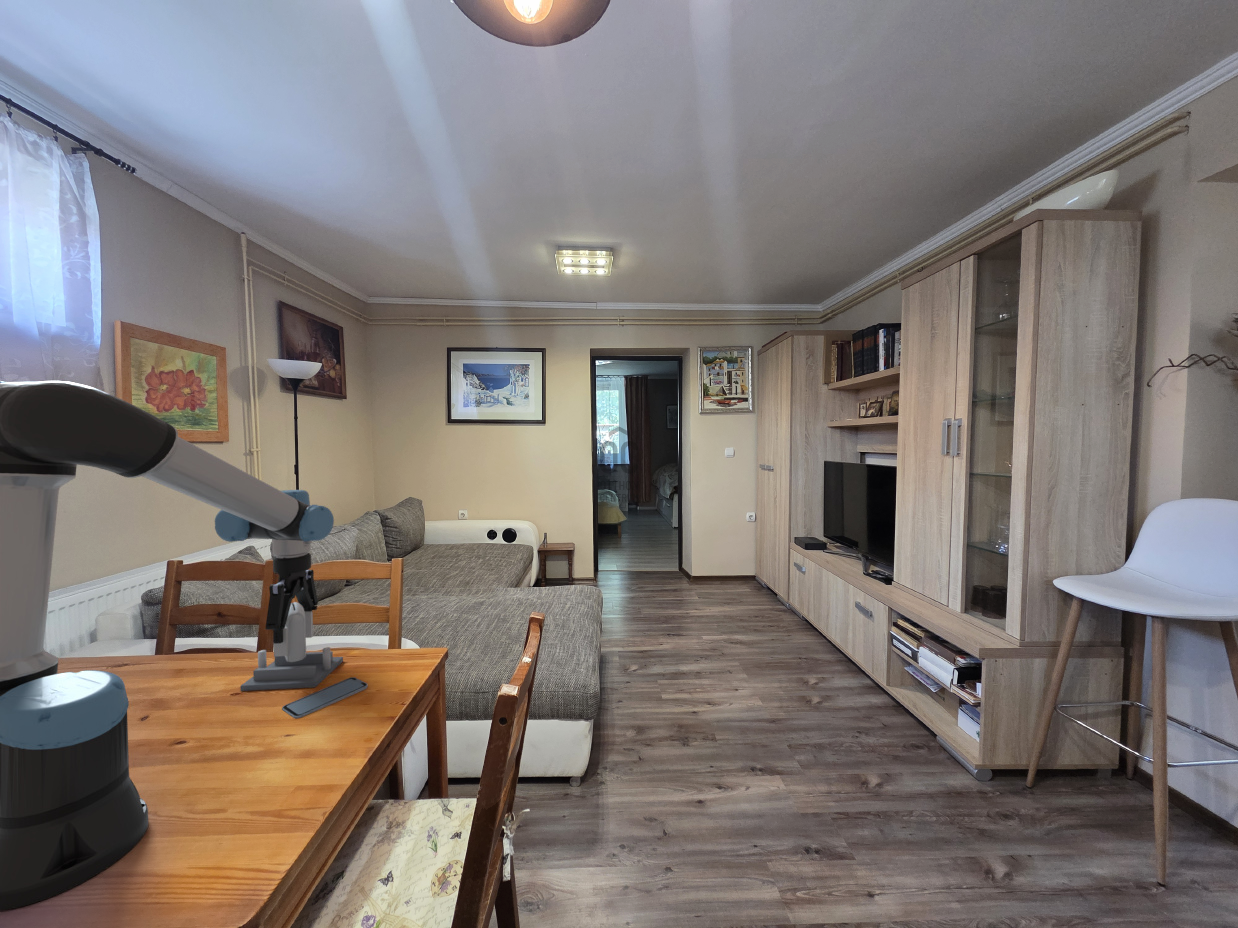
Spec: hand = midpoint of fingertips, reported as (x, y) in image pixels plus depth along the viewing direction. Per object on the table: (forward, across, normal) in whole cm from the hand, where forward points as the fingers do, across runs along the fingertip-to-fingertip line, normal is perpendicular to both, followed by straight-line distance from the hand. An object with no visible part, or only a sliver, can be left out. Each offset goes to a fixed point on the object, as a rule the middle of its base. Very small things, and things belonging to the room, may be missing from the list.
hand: (294, 645), depth 112 cm
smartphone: (+8, -11, -13) cm, 19 cm away
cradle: (+7, 0, 0) cm, 7 cm away
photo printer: (+2, 0, 0) cm, 2 cm away
